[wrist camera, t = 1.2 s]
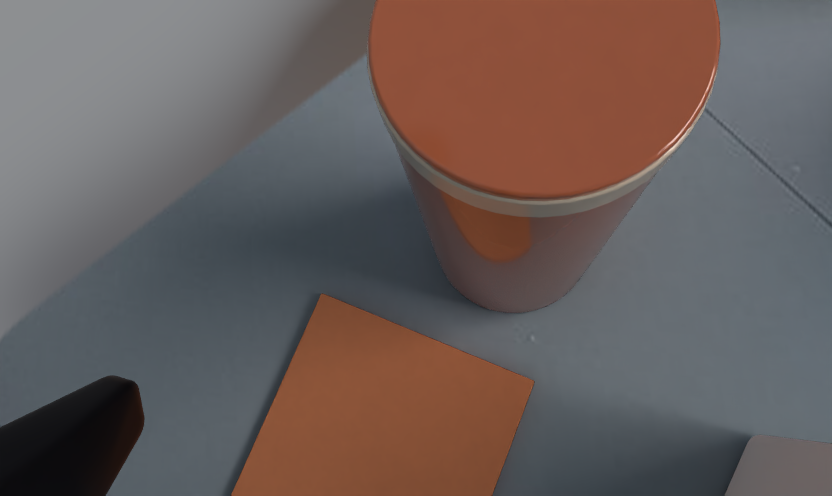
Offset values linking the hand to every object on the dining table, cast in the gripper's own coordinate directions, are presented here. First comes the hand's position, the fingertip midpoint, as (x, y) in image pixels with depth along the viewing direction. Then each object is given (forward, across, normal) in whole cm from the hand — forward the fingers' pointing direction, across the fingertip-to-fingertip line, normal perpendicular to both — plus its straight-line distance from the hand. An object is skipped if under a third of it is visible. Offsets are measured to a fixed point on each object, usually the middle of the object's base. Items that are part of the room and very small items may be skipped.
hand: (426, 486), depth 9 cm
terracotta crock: (+14, 0, +4) cm, 15 cm away
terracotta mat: (+8, +3, +10) cm, 13 cm away
